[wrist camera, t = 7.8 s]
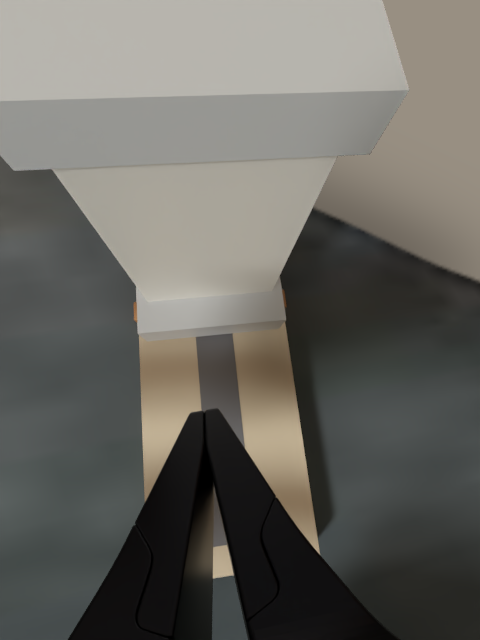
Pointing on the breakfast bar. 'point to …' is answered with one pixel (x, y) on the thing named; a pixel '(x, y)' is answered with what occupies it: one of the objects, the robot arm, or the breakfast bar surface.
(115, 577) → the robot arm
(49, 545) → the breakfast bar surface
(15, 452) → the breakfast bar surface
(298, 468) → the fader console
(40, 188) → the breakfast bar surface
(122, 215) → the fader tab
